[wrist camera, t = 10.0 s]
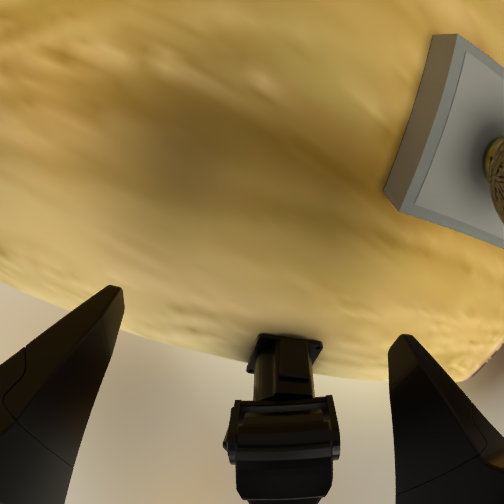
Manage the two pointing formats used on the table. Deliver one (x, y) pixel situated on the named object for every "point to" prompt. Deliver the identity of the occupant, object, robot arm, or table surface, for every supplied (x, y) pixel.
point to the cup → (495, 172)
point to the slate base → (452, 141)
